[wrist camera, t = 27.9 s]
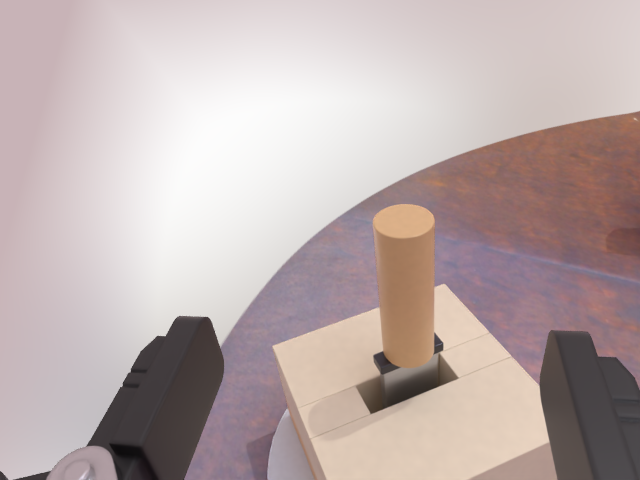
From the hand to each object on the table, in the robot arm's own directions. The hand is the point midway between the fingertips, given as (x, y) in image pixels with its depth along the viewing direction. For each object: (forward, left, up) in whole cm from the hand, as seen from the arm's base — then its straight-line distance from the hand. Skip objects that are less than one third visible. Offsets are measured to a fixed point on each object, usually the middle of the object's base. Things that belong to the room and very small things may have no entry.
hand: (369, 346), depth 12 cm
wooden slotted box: (-2, +10, -21) cm, 24 cm away
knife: (-1, +10, -19) cm, 21 cm away
